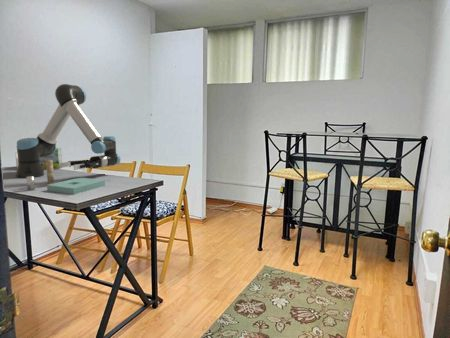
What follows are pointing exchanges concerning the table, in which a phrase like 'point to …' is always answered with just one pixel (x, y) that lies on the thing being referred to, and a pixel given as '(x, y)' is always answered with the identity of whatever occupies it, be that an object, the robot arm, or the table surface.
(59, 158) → the snack box
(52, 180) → the tall pin
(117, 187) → the table surface
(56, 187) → the hole plate
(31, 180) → the short pin
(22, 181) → the table surface
